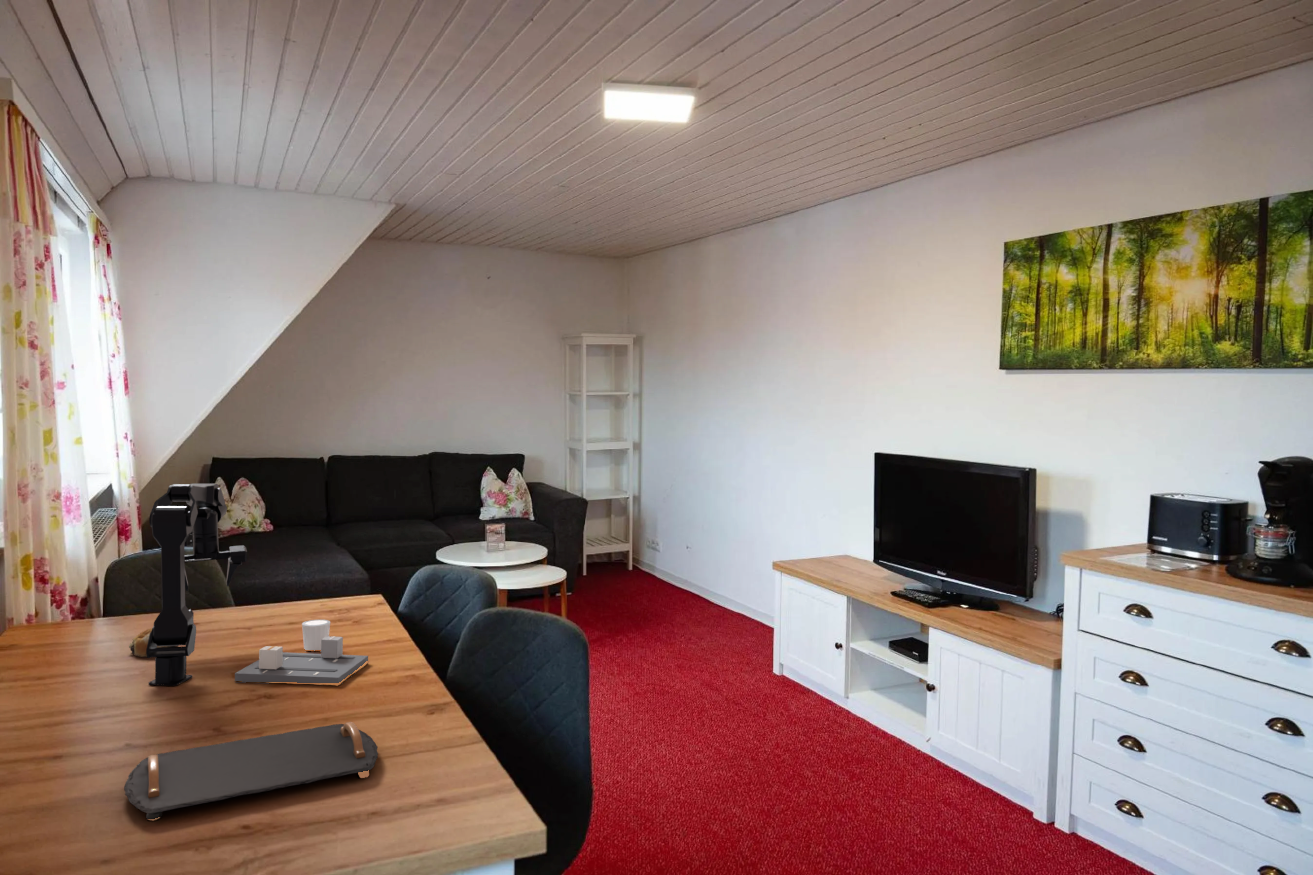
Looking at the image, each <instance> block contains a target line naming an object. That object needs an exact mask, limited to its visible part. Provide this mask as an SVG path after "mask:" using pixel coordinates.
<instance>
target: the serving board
mask: <svg viewBox="0 0 1313 875" xmlns="http://www.w3.org/2000/svg"><path fill="white" fill-rule="evenodd" d="M378 755H379V753H378V745H377V743H376V742H375V741H374V739H373V738H372V737H371V736H370V735H368V734H367V733H366V732H365V731H362V730H361V729H359V728H358V726H357V725H356V724H355V723H354V722H352V721H348V722H345V723H336V724H330V725H325V726H317V727H313V728H307V729H299V730H294V731H289V732H284V733H276V734H275V733H274V734H267V735H264V736H258V737H251V738H246V739H245V738H244V739H239V740H234V741H227V742H226V741H225V742H222V743H215V744H211V745H209V744H208V745H205V746H197V747H196V746H195V747H192V748H187V749H182V750H181V749H180V750H179V749H178V750H173V751H168V752H163V753H162V752H161V753H156V754H151V755H149V756H147V757H146V758H144V759H143V760H141V761H140V762H139V763H138V764H136V766H135V767H134V768H133V769H132V770H131V772H130V773H129V774H128V776H127V777H128V778H127V779H126V782H125V784H124V788H123V789H124V790H123V791H124V795H125V796H126V797H127V799H128V802H129V804H131V805H132V806H134V807H135V808H136V809H139V810H140V811H141V812H144V813H146V815H145V819H146V818H147V819H155V818H158V817H161V816H162V817H163V812H166V811H170V810H176V809H180V808H185V807H186V808H187V807H191V806H196V805H201V804H207V803H211V802H212V803H213V802H218V801H224V800H226V799H231V798H235V797H241V796H245V795H251V794H259V793H262V792H268V791H273V790H277V789H282V788H283V789H284V788H287V787H292V786H293V787H294V786H298V785H302V784H303V785H304V784H311V783H314V782H318V781H323V780H325V779H332V778H335V777H343V776H347V775H348V776H349V775H352V774H357V773H358V772H363V771H368V770H372V769H374V767H375V764H376V761H377V759H378ZM162 817H161V818H162ZM147 819H146V820H147Z"/></svg>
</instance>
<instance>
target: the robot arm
mask: <svg viewBox="0 0 1313 875" xmlns="http://www.w3.org/2000/svg"><path fill="white" fill-rule="evenodd" d="M173 502H186V505H187V506H186V505H185V506H184V505H178V506H177V505H172V504H173ZM153 503H154V504H153V506H152V508H151V511H150V514H149V518H148V519H149V522H148V523H149V526H150V527H151V532H152V537H153V538H154V540H155V541H156V542H157V544H158V545H159V546H160V563H161V564H160V565H161V566H160V568H161V570H160V571H161V572H160V573H161V574H160V575H161V578H160V579H161V611H160V612H159V613H158V615H157V617H156V618H155V620H154V622H153V627H151V628H152V631H151V632H150V635H149V640H148V644H147V649H146V655H147V657H146V658H147V659H150V658H154V659H155V660H154V662H155V663H154V665H155V666H154V667H155V668H154V670H155V672H154V673H155V674H154V678H155V679H152V680H151V681H149V682H148V686H149V685H150V686H166V687H167V686H168V687H172V686H173V687H176V686H178V685H181V684H183V683H184V682H186V681H188V680H190V679H192V678H193V674H187V657H189V656H190V655H191V654H193V652H194V651H195V648H196V647H195V646H196V635H197V626H196V624H194V623H195V622H194V621H195V620H194V611H193V610H192V609H189V608H188V606H186V592H189V581H188V578H187V572H186V566H185V565H186V564H185V563H193V562H204V561H205V562H207V561H214V560H215V561H216V560H217V561H218V560H223V559H227V570H226V571H227V572H226V580H225V581H226V587H228V588H229V586H230V584H231V581H232V578H233V576H234V573H235V571H236V570H237V568H238V566H242V564H243V563H245V562H248V550H247V547H246V546H245V545H243V544H242V545H233V546H229V550H224V551H220V549H219V548H220V546H219V528H218V527H219V524H218V523H220V521H221V520H222V519H223V518H224V516H225V515H226V514H227V511H228V506H227V505H226V500H225V497H224V494H223V490H222V488H221V487H220V486H219V484H218V483H190V484H189V483H185V484H183V483H181V484H179V483H173V484H171V485H169V486H168V489H167V490H166V492H165V493H164V494H163V495H161V497H158V499H156V500H155V501H154V502H153ZM189 506H190V507H189ZM185 543H186V547H187V548H189V547H192V552H193V553H192V554H185ZM157 646H178V647H157Z"/></svg>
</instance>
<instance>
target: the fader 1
mask: <svg viewBox="0 0 1313 875" xmlns="http://www.w3.org/2000/svg"><path fill="white" fill-rule="evenodd" d="M283 648H284V647H283V646H276V645H272V646H271V645H268V646H267V645H266V646H263V647H262V648H260V649H258V650H259V651H258V658H259V659H258V660H259V669H277V668H279V667H281V666H282V663H283V652H284V649H283Z"/></svg>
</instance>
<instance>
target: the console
mask: <svg viewBox="0 0 1313 875" xmlns="http://www.w3.org/2000/svg"><path fill="white" fill-rule="evenodd" d="M366 661H368V662H369V655H362V654H361V655H358V654H356V655H355V654H343V655H342V656H340V657H339V658H321V653H313V652H287V651H285V652H284V651H283V663H282V666H281V667H279V668H277V669H259V659H258V660H256V661H253V662H252V663H251V664H249V665H247V666H245V667H243V668H242V669H240V670H238V671H237V672H235V673H234V682H235V681H242V682H241V683H246V682H297V683H339V682H341V681H342V680H343V679H345V678H346V677H347V676H348V675H350V674H352V673H353V672H354V671H355V670H357V669H358V668H359V667H360V666H362V665H363V664H364V663H365V662H366Z"/></svg>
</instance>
